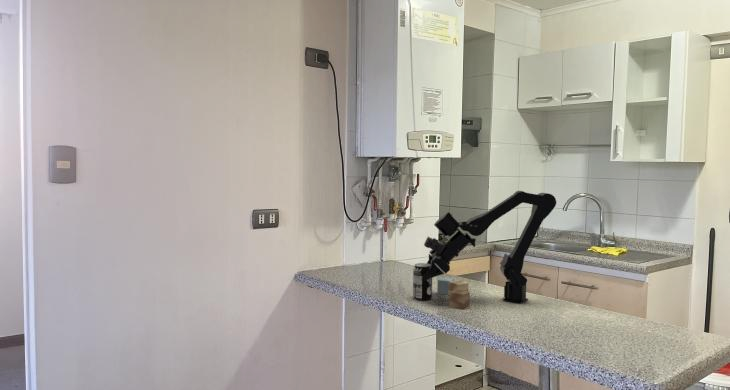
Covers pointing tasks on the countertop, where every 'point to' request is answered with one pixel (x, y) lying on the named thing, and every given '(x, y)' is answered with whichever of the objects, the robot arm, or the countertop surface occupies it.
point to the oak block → (457, 286)
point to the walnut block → (459, 299)
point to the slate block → (443, 285)
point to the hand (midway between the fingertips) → (421, 276)
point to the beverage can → (421, 282)
